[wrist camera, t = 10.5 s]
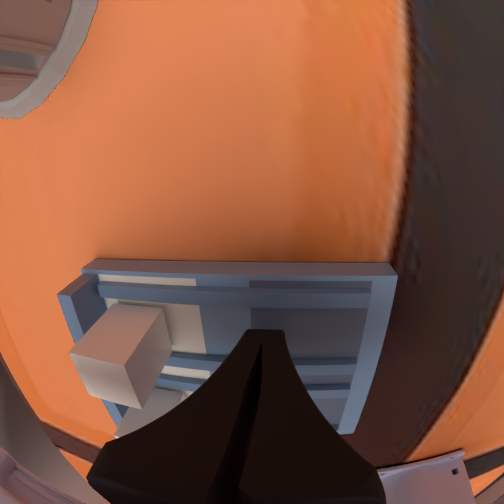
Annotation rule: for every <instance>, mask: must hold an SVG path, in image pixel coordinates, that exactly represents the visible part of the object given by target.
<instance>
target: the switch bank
mask: <svg viewBox="0 0 504 504" xmlns="http://www.w3.org/2000/svg"><path fill="white" fill-rule="evenodd" d="M81 272H82V275H81V276H79V277H78V278H77V279H76V280H74V281H73V282H72V283H70V284H69V285H68V286H67V287H65V288H64V289H63V290H62V291H60V292H59V293H58V294H57V296H58V299H59V302H60V305H61V308H62V311H63V314H64V316H65V319H66V322H67V325H68V327H69V330H70V332H71V335H72V337H73V340H74V342H75V345H76V343H77V342H78V341H79V340H80V339H81V338H82V337H83V336H84V335H85V333H86V332H87V331H88V330H89V329H90V328H91V327H92V326H93V325H94V324H95V323H96V321H97V320H98V319H99V318H100V317H101V316H102V315H103V314H104V313H105V312H106V311H107V310H108V309H109V308H110V307H111V305H112V304H113V303H115V304H124V305H135V306H145V307H157V308H163V311H164V315H165V320H166V325H167V329H168V334H169V338H170V342H171V346H172V350H173V351H172V353H171V355H170V357H169V358H168V360H167V362H166V364H165V366H164V368H163V370H162V372H161V374H160V376H159V378H158V380H157V382H156V384H155V386H154V388H158V389H163V390H169V391H175V392H182V393H184V395H185V399H186V398H187V397H189V396H190V395H191V394H192V393H193V392H194V391H196V390H197V389H198V388H199V387H200V386H201V385H202V384H203V383H204V382H205V381H206V380H207V379H208V378H209V377H210V376H211V375H212V374H213V373H214V372H215V371H216V369H217V368H218V367H219V366H220V365H221V364H222V363H223V361H224V360H225V359H226V358H227V356H228V355H229V354H230V353H231V351H232V350H233V349H234V347H235V346H236V344H237V343H238V341H239V340H240V338H241V337H242V335H243V334H244V332H245V331H246V330H247V329H273V330H283V331H284V332H285V339H286V343H287V347H288V350H289V353H290V356H291V359H292V361H293V363H294V366H295V368H296V370H297V373H298V375H299V377H300V379H301V381H302V382H303V384H304V386H305V388H306V390H307V391H308V393H309V395H310V396H311V398H312V400H313V401H314V403H315V404H316V406H317V407H318V409H319V410H320V411H321V413H322V414H323V415H324V417H325V418H326V419H327V421H328V422H329V423H330V424H331V425H332V426H333V428H334V429H335V430H336V431H337V432H338V433H339V434H351V433H354V431H355V428H356V425H357V423H358V420H359V418H360V415H361V412H362V409H363V407H364V404H365V401H366V398H367V395H368V392H369V389H370V386H371V383H372V380H373V377H374V373H375V370H376V367H377V363H378V360H379V356H380V353H381V349H382V346H383V342H384V338H385V334H386V330H387V326H388V322H389V317H390V313H391V308H392V304H393V299H394V294H395V289H396V283H397V278H398V275H397V274H396V272H395V271H394V270H393V268H392V267H391V265H390V264H389V263H318V262H224V261H165V260H119V259H94V260H93V261H91V262H90V263H89V264H87V265H86V266H84V267H83V268H82V269H81ZM102 401H103V403H104V405H105V407H106V409H107V410H108V412H109V414H110V416H111V417H112V419H113V421H114V422H115V424H116V426H117V427H118V426H119V425H120V423H121V421H122V419H123V417H124V415H125V413H126V411H127V410H128V408H129V406H125V405H121V404H118V403H114V402H110V401H107V400H103V399H102Z"/></svg>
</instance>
